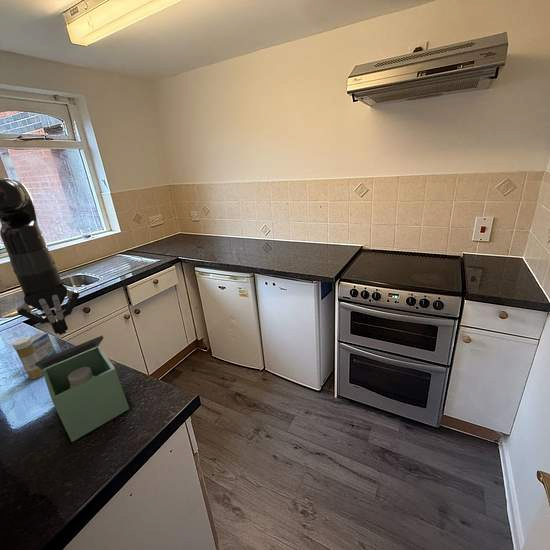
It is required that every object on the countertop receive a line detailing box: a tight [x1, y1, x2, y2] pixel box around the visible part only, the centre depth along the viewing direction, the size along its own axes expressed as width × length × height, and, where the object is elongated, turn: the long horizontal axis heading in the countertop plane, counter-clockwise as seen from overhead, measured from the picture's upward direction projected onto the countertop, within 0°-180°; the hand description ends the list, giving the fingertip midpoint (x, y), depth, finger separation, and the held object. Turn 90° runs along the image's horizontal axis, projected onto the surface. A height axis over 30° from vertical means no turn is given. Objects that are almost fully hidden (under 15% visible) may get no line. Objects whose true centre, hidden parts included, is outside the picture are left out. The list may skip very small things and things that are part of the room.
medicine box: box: [29, 332, 57, 360], centre depth 105 cm, size 8×4×9 cm, turn 171°
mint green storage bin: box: [42, 345, 130, 443], centre depth 79 cm, size 16×14×13 cm
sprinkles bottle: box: [12, 336, 44, 380], centre depth 95 cm, size 5×5×13 cm
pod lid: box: [35, 335, 104, 370], centre depth 75 cm, size 16×14×1 cm
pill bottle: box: [68, 367, 95, 388], centre depth 79 cm, size 6×6×11 cm
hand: (62, 332), depth 75 cm, fingers closed
